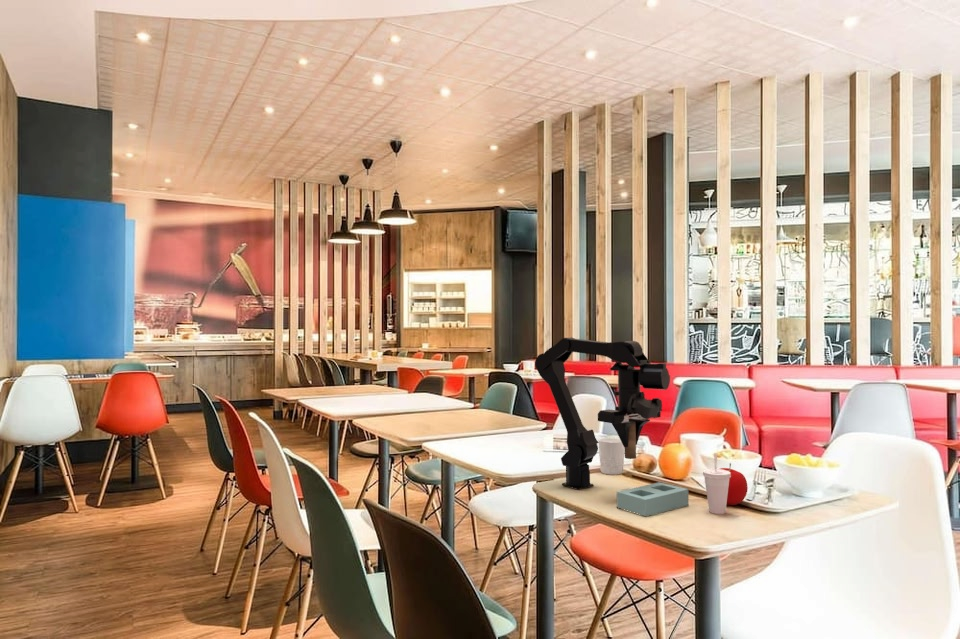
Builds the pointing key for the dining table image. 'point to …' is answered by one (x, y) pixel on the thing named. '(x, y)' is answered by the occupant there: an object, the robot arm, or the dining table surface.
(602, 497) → the dining table surface
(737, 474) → the fruit
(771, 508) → the dining table surface
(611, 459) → the white cup
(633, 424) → the peg
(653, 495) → the hole block
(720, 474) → the smoothie
